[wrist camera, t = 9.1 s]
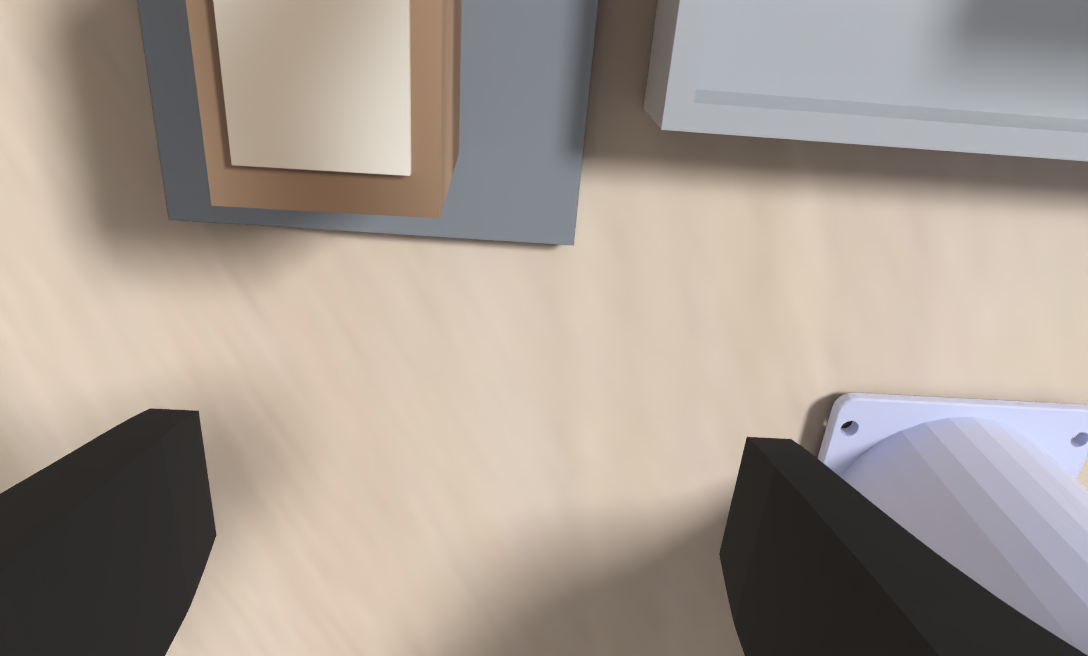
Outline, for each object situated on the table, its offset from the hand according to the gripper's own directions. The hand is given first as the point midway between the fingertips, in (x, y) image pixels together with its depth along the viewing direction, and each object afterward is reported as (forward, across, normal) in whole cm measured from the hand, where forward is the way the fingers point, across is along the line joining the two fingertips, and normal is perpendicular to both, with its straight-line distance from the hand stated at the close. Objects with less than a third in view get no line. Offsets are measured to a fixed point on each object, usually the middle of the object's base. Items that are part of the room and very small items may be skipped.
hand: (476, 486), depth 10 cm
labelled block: (+10, +3, -5) cm, 12 cm away
